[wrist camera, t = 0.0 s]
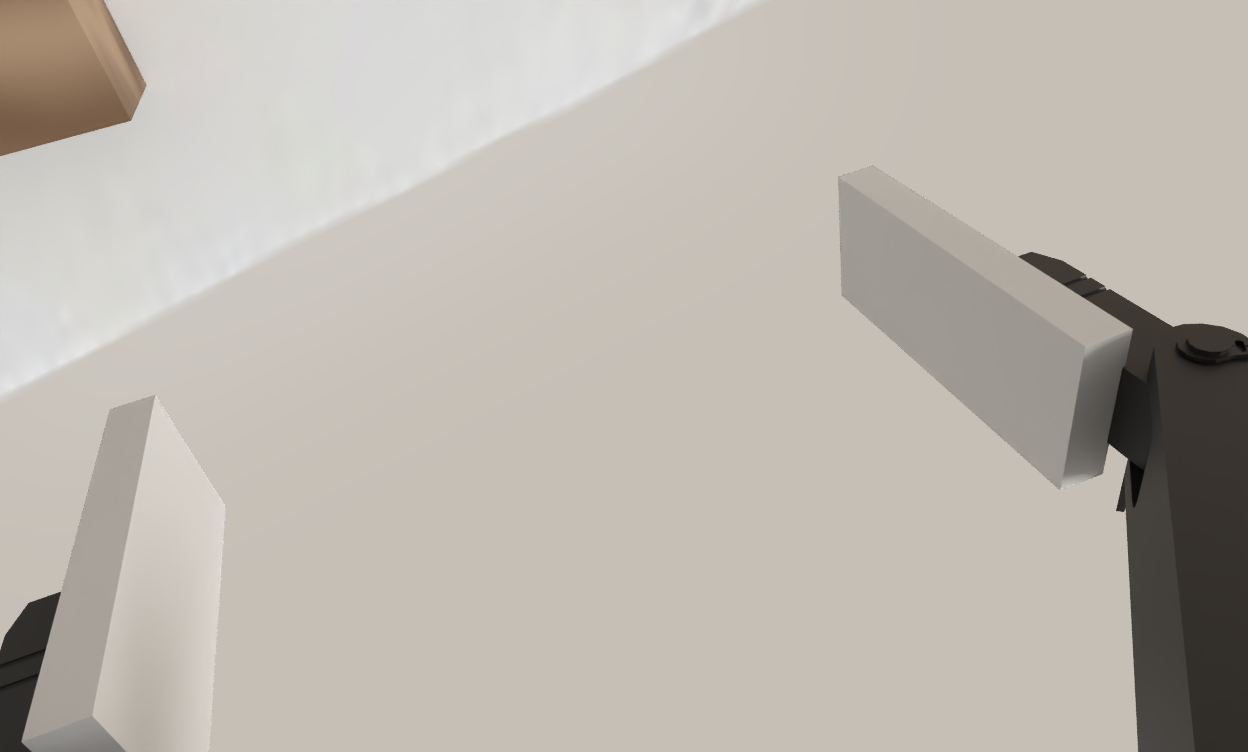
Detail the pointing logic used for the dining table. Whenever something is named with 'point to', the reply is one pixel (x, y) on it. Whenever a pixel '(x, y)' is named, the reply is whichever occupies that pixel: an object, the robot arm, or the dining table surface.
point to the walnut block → (62, 72)
